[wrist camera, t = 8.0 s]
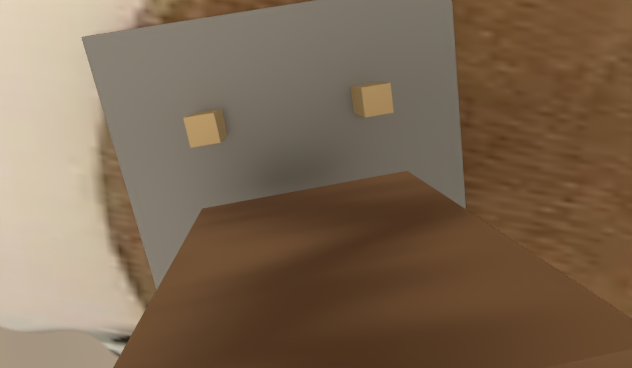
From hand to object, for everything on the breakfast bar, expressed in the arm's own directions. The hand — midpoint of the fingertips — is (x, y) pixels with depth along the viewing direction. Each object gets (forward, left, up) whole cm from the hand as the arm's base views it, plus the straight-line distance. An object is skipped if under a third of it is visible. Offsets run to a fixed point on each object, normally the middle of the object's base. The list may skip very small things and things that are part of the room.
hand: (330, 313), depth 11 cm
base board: (0, 0, -15) cm, 15 cm away
